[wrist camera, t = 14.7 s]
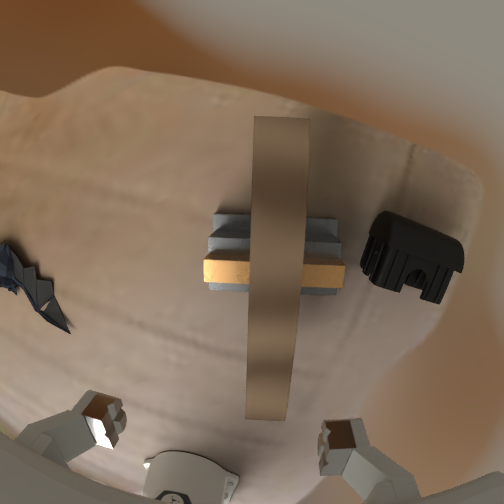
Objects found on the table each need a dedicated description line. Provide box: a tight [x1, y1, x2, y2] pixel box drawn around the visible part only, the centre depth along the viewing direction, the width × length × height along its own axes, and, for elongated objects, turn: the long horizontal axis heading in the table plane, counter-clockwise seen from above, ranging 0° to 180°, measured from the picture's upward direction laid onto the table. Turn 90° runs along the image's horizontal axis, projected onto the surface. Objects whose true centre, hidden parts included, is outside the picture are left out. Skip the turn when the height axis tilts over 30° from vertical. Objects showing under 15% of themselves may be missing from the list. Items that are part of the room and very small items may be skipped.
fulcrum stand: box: [204, 213, 345, 295], centre depth 29 cm, size 8×13×8 cm, turn 88°
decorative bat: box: [0, 243, 71, 334], centre depth 35 cm, size 30×4×10 cm
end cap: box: [360, 211, 464, 304], centre depth 29 cm, size 10×7×7 cm
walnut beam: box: [245, 116, 310, 421], centre depth 23 cm, size 24×4×5 cm, turn 178°
